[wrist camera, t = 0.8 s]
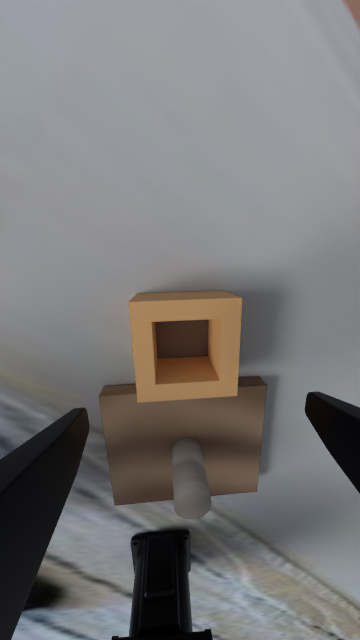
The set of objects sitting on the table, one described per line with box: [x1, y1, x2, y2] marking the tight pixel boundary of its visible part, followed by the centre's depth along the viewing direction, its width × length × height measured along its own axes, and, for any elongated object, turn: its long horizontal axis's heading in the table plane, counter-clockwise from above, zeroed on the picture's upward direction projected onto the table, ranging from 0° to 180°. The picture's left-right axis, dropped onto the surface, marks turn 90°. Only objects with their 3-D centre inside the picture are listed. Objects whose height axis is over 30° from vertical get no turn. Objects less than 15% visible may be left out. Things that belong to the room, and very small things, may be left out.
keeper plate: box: [99, 376, 267, 519], centre depth 17 cm, size 12×14×6 cm
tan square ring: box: [128, 291, 242, 403], centre depth 15 cm, size 7×7×4 cm
